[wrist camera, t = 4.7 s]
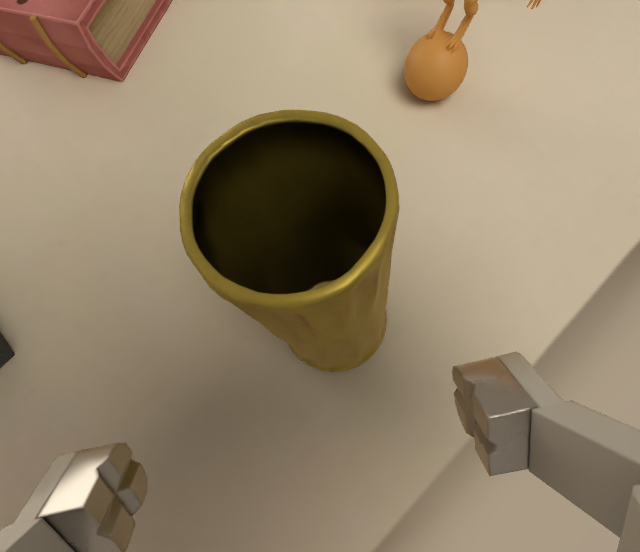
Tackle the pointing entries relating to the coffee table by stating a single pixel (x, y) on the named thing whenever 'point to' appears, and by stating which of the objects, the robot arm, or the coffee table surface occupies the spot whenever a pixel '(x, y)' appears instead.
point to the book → (79, 33)
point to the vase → (297, 231)
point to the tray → (4, 351)
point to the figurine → (440, 57)
